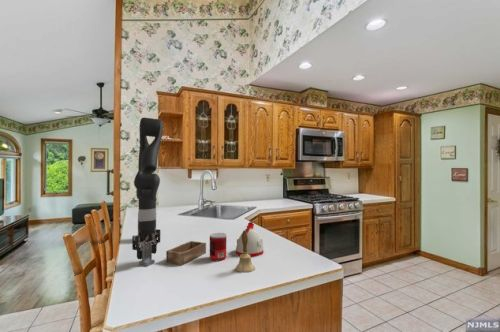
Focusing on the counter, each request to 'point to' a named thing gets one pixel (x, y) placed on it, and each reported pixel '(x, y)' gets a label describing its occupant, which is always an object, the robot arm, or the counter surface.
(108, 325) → the counter surface
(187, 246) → the open wooden box
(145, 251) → the bracket
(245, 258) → the hand bell
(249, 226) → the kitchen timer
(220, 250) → the canned food
